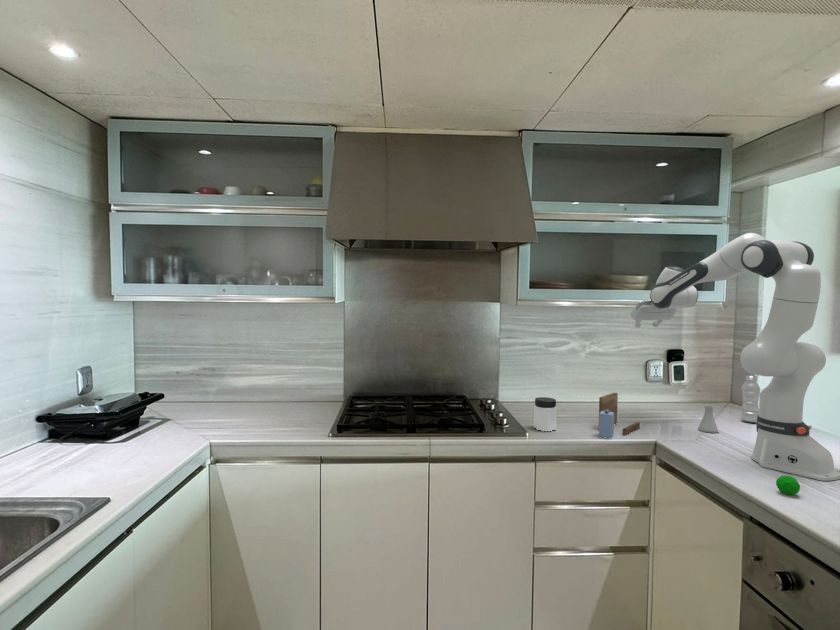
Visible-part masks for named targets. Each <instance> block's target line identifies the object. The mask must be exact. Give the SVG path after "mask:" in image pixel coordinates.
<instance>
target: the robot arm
mask: <svg viewBox="0 0 840 630" xmlns="http://www.w3.org/2000/svg"><path fill="white" fill-rule="evenodd" d="M814 258H815V253H814V251H813V248H811V247H810V246H809V245H808V244H805V243H804V242H801V241H794V240H793V241H792V240H791V241H790V240H783V239H768V240H767V239H765V238H764V237H763V236H762V235H761V234H758V233H757V232H747V233H744V234H742V235H740V236H738V237H736V238H734V239H732V240H731V241H729V242H728V243H726V244H725V245H724V246H722V247H721V248H719V249H718V250H716V251H715V252H714V253H712V254H711V255H708V256H707V257H705V258H704V259H702V260H700V261H698V262H696V263H695V264H693V265H690V266H689V267H687V268H686V269H684V268H683V267H679V266H671V265H669V266H666V267H664V269H663V270H662V271H661V272H660V274H659V276H658V278H657V280H656V281H655V282H656V283H655V285H654V286H653V287H652V289H651V291H650V294H649V295H650V299H651V301H648V300H647V301H646V300H641V301H638V302H637V303H636V304H637V305H636V304H635V306H634V307H633V308H632V309H631V312H630V313H629V315H630V317H631V318H632V320H634V321H635V324H634V327H635V328H640V327H641V325H642V324H641V323H642V321H653V322H652V325H651V326H652V327H654V328H657V327H658V326H659V325H660V324H661V323H662V322H663V321H665V320H671V319H672V318H673V317H674V316H675V314H676V312H677V311H678V309H681V308H682V309H684V308H692V307H693V306H694V305H696V304H697V302H698V299H699V291H698V289H697V288H696V287H695V286H696V285H697V284H702V283H706V282H707V283H708V282H717V281H718V282H719V281H728V280H731V279H733V278H736V277H738V276H740V275H741V274H743V273H744V272H746V271H747V270H748V271H749V272H752V273H753V274H756V275H759V276H761V277H762V278H765V279H769V278H773V280H774V282H775V288H774V292H773V296H772V301H771V306H770V309H769V313H768V317H767V321H766V323H765V325H764V327H763V328H762V330H761V332H759V334H758V335H757V336H756V338H755V339H754V340H753V341H752V342H751V343H749V344H748V345H746V346H745V347H743V349H742V351H741V353H740V357H739V359H740V364H741V366H742V368H743V369H744V371H746V372H747V373H749V374H751V375H754V376H761V377H772V379H771V381H769V384H768V385H767V386H766V387H764V388H763V389H762V390H760V395H759V401H758V407H759V415H758V416H757V422H756V424H755V427H756V440H755V443H754V448H753V450H752V453H751V456H750V458H751V459H752V460H753V461H755V462H756V463H758V465H759V466H761V467H763V468H765V469H772V470H775V471H780V472H782V473H783V472H784V473H788V474H792V475H795V476H800V477H804V478H805V477H806V478H810V479H813V480H818V481H822V482H823V481H824V482H828V481H829V482H830V481H836V480H840V468H837V467H835V463H834V459H833V455H832V452H831V451H830V450H829V449H827V448H826V447H825V446H823V445H822V444H821V443H819V442H818V441H817V440H816V439H815V438H813V437H812V436H811V435H810V430H812V427H813V426H812V425H810V424H809V425H807V424H806V423H805V422H804V421H803V414H804V400H805V396H806V394H807V390H808V388H809V386H810V384H811V383H812V381H813V380H814V377H816V375H817V374H818V373H820V372H821V371H822V370H823V369H824V368H825V366H826V363H827V357H826V354H825V352H824V350H823V349H822V348H820V347H819V346H817V345H816V344H813V343H812V344H811V343H808V342H802V341H799V339H800V338H801V337H802V336H803V334H805V333H807V332H808V331H810V330H811V329H812V327H813V326H814V323H815V319H816V318H815V317H816V314H817V310H818V306H819V301H820V296H821V294H820V293H821V287H822V285H821V281H822V280H821V271H820V270H819V269H818V268H817V267H816V266H813V265H812V264H813V262H814V261H815V260H814Z"/></svg>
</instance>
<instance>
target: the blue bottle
mask: <svg viewBox="0 0 840 630" xmlns="http://www.w3.org/2000/svg"><path fill="white" fill-rule="evenodd" d="M614 429H615V425H614V412H609V410H608V409H606V410H605V411H601V412H600V414H599V413H598V438H602V437H606V438H605V439H608V438H612V437H614V436H613V435H615V434H614V431H615V430H614ZM612 439H613V438H612Z"/></svg>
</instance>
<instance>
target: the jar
mask: <svg viewBox="0 0 840 630" xmlns="http://www.w3.org/2000/svg"><path fill="white" fill-rule="evenodd" d="M557 410H558V407H557V400H556V399H555V398H553V397H548V396H547V397H545V396H544V397H543V396H540V397H535V398H534V405H533V428H534V427H535V428H536V429H537V430H544V431H551V432H553V431H552V430H556V431H557V415H558V414H557V412H558V411H557ZM535 428H534V429H535ZM536 429H535V430H536ZM537 430H536V431H537ZM544 431H543V432H544Z"/></svg>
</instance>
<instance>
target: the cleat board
mask: <svg viewBox="0 0 840 630" xmlns="http://www.w3.org/2000/svg"><path fill="white" fill-rule="evenodd" d="M618 395H619V393H618V392H612V393H608V394H606V395H602V396H600V397H598V398H599V400H598V401H599V404H598V415H599V414H600V412H601V411H605V410H606V409H608V410H609V412H614V424H615V425H617V424H618V400H619V398H618ZM616 423H617V424H616ZM640 428H641V423H640V422H638V421H636V422H634V423H631V424H630V425H628V426H625V427H623V428H622V436H628V435H630V434H632V433H634V432H636V431H638V430H639V429H640ZM635 430H636V431H635ZM633 431H634V432H633ZM631 432H632V433H631ZM629 433H630V434H629ZM627 434H628V435H627Z"/></svg>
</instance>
